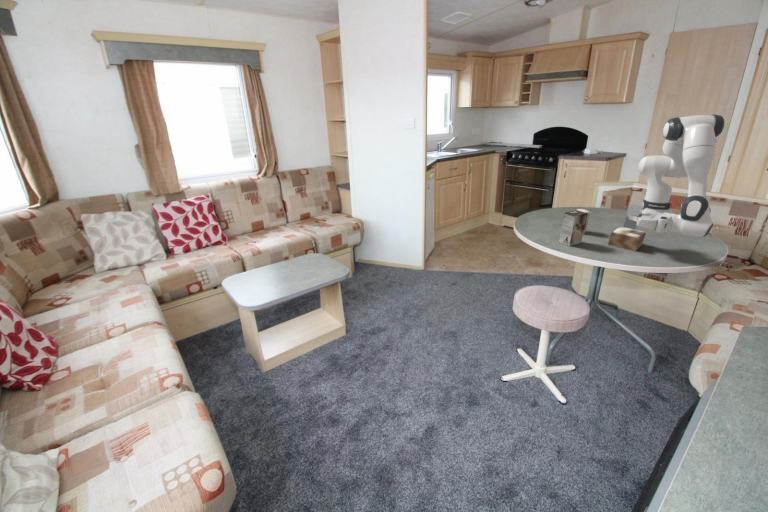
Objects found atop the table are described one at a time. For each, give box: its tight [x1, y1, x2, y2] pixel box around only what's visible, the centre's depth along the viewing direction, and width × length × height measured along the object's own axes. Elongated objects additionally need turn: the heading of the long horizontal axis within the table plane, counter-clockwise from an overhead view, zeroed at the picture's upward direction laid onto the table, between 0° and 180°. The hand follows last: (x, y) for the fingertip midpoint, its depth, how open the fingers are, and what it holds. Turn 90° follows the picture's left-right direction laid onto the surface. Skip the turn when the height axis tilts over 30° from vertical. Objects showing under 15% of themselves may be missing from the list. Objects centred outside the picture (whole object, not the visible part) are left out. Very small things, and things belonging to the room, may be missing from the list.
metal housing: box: [622, 203, 644, 230], centre depth 176 cm, size 5×5×11 cm
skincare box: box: [576, 208, 591, 234], centre depth 197 cm, size 6×4×12 cm
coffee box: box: [558, 209, 588, 247], centre depth 181 cm, size 9×6×16 cm
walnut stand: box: [608, 226, 647, 252], centre depth 180 cm, size 12×12×7 cm
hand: (631, 215), depth 176 cm, fingers closed on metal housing, 5 cm apart
